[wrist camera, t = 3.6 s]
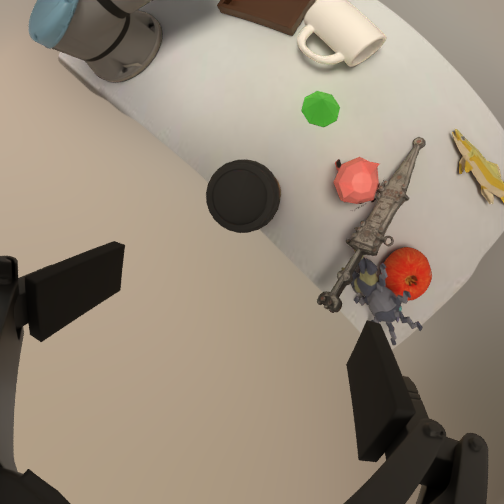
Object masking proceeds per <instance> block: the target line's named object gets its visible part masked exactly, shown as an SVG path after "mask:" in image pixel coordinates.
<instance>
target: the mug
mask: <svg viewBox="0 0 504 504" xmlns="http://www.w3.org/2000/svg"><path fill="white" fill-rule="evenodd" d="M304 23H305V25H306V26H305V27H304V28H303V29H302V30H301V31H300V33H299V35H298V37H297V44H298V47H299V48H300V50H301V51H302V52H303V53H304V54H305V55H306V56H307V57H309V58H310V59H312V60H314V61H316V62H318V63H322V64H336V63H339V62H342V61H344V62H345V63H346V64H347V65H348V66H350V67H352V66H356V65H358V64H360V63H361V62H363V61H364V60H366V59H367V58H369V57H370V56H371V55H372V54H374V53H375V52H376V51H377V50H378V49H379V48H380V47H381V46H382V45H383V44H384V42H385V41H386V35H385V34H384V33H383V32H382V31H381V30H380V29H378V28H377V27H376V26H375V25H374V24H373V23H372V22H371V21H370V20H369V19H368V18H367V17H366V16H364V15H363V14H362V13H361V12H360V11H359V10H358V9H357V8H355V7H354V6H353V5H352V4H351V3H349V2H348V1H347V0H318V1H317V2H316V3H314V4H313V5H312V6H311V8H310V9H309V10H308V12H307V13H306V15H305V18H304ZM313 32H314V33H315V34H316V35H317V36H319V37H320V38H321V39H322V40H323V41H324V42H325V43H326V44H327V45H328V46H329V47H330V48H331V49H332V50H333V51H334V52H335V53H336V54H333V55H330V56H320V55H317V54H315V53H313V52H312V51H311V50H309V49H308V48H307V46H306V39H307V38H308V37H309V36H310V35H311V34H312V33H313Z"/></svg>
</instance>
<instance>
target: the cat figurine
mask: <svg viewBox="0 0 504 504" xmlns="http://www.w3.org/2000/svg"><path fill="white" fill-rule="evenodd" d="M335 165H336V169H337V170H338V173H337V176H336V178H335V180H334V185H335V187H336V190H337V192H338V195H339V197H340V200H341V201H344V202H350V203H355V204H361V203H364V202H366V201H372V202H374V201H375V200H376V198H375V199H374V196H375V193H376V190H380V189H379V186H380V183H379V182H378V171H377V167H378V165H379V163H373V162H369V161H367V160H365V159H363V158H361V157H358V158H356V159H353V160H351V161H348V162H346V163H343V164H342V165H341V162H340V160H337V161H336V162H335ZM383 181H384V180H383ZM378 183H379V184H378ZM384 183H385V182H384ZM381 185H382V184H381ZM382 186H383V185H382ZM377 193H378V192H377ZM365 204H366V203H365ZM365 204H363V205H365ZM361 207H362V206H361ZM356 209H357V208H356ZM358 209H359V208H358ZM352 211H353V210H352ZM355 211H356V210H355Z"/></svg>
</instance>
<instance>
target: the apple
mask: <svg viewBox="0 0 504 504" xmlns="http://www.w3.org/2000/svg"><path fill="white" fill-rule="evenodd" d="M384 264H385V266H386V268H385V270H386V273H387V276H388V277H387V278H385V283H386V286H385V287H386V288H388V289H390V290H391V291H392V292H393V293H394V294H395V295H396V296H398V295H401V296H403V291H404V290H405V291H409V292H410V295H411V298H409V297H408V300H414V299H416V298H418V297H420V296H421V295H422V294H423V293H424V292H425V291H426V290H427V288H428V287H429V285H430V282H431V279H432V272H431V268H430V265H429V262H428V260H427V258H426V257H425V256H424V255H423V254H422V253H421V252H419V251H418V250H416V249H414V248H410V247H404V248H400V249H398V250H396V251H394V252H393V253H391V254H390V255H389V257H388V258H387V259H386V260H385V262H384ZM381 274H382V273H381Z"/></svg>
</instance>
